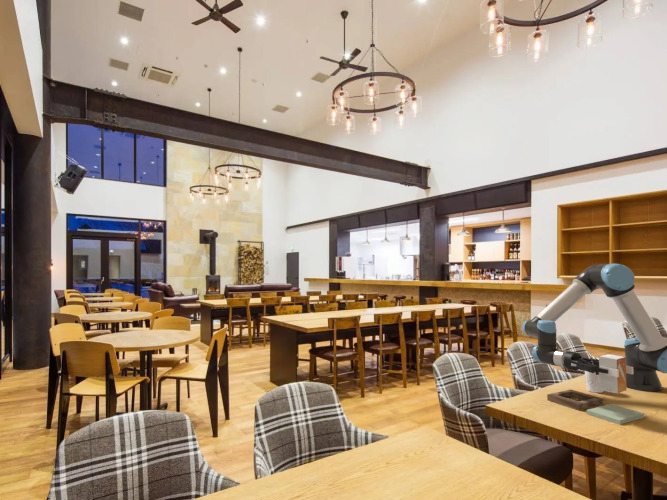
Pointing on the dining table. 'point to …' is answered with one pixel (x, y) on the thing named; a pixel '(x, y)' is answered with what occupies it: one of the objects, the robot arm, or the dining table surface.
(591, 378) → the white cup
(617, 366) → the small box
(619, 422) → the board
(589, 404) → the walnut holder
